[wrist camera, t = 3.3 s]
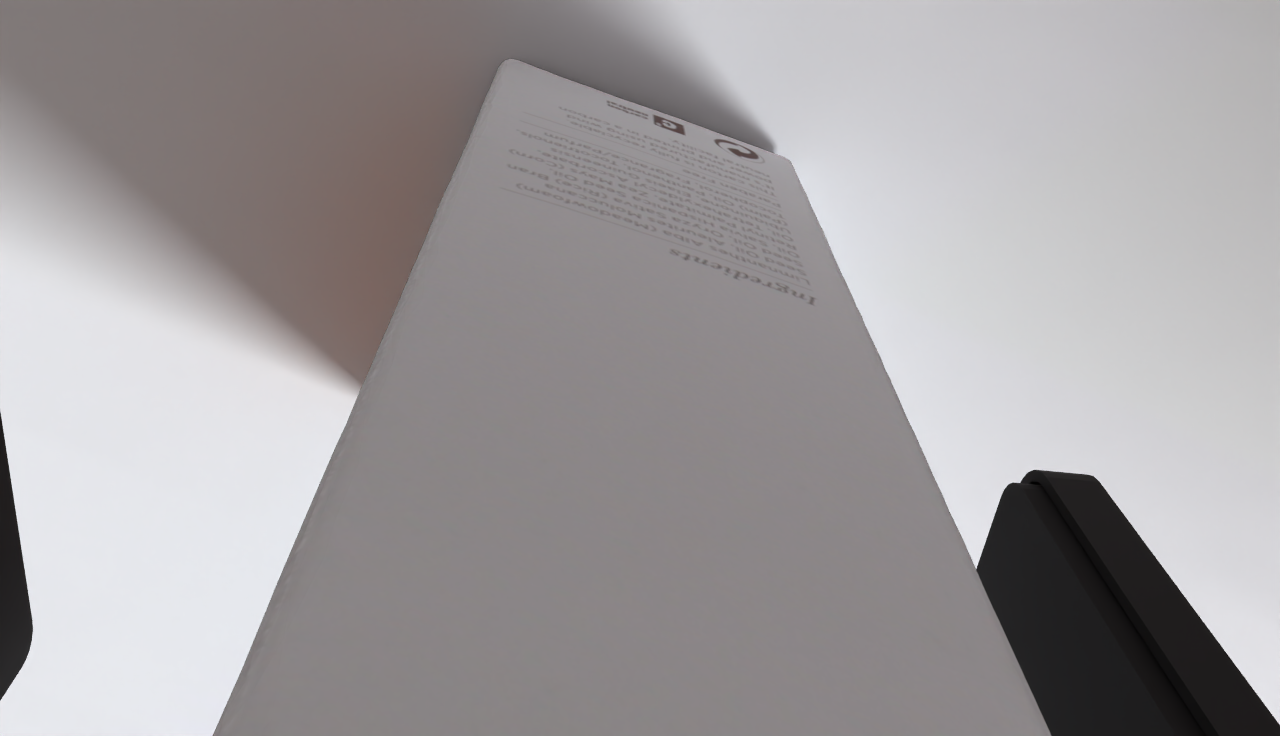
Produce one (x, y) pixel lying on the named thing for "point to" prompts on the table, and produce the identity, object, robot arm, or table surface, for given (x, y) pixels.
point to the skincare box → (626, 471)
